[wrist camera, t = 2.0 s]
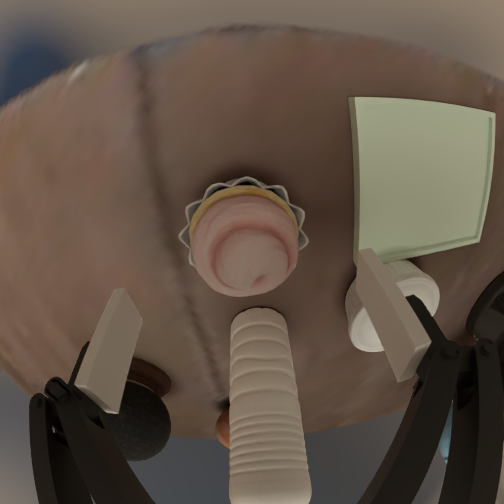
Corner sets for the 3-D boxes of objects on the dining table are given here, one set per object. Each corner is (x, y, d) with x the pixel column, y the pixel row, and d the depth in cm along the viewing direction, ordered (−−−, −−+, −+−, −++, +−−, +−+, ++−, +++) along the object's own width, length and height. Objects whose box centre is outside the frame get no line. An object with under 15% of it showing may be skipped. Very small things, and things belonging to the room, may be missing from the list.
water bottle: (290, 306, 30) (330, 543, 8) (281, 343, 33) (305, 540, 12) (211, 303, 29) (196, 552, 8) (211, 340, 32) (202, 543, 11)
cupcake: (223, 271, 27) (217, 353, 18) (171, 192, 22) (130, 256, 14) (312, 233, 25) (345, 308, 16) (270, 141, 20) (292, 175, 12)
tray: (486, 110, 17) (495, 113, 16) (472, 236, 26) (479, 241, 24) (347, 96, 18) (354, 97, 17) (352, 260, 27) (357, 268, 25)
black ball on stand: (94, 373, 38) (72, 445, 25) (110, 339, 33) (79, 433, 20) (159, 402, 42) (149, 473, 30) (191, 376, 37) (182, 468, 24)
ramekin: (374, 330, 33) (387, 360, 29) (317, 304, 30) (328, 339, 25) (432, 273, 28) (453, 300, 24) (385, 230, 25) (409, 259, 20)
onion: (279, 401, 42) (284, 451, 34) (251, 418, 46) (253, 462, 38) (231, 390, 39) (231, 445, 31) (207, 409, 44) (205, 456, 35)
